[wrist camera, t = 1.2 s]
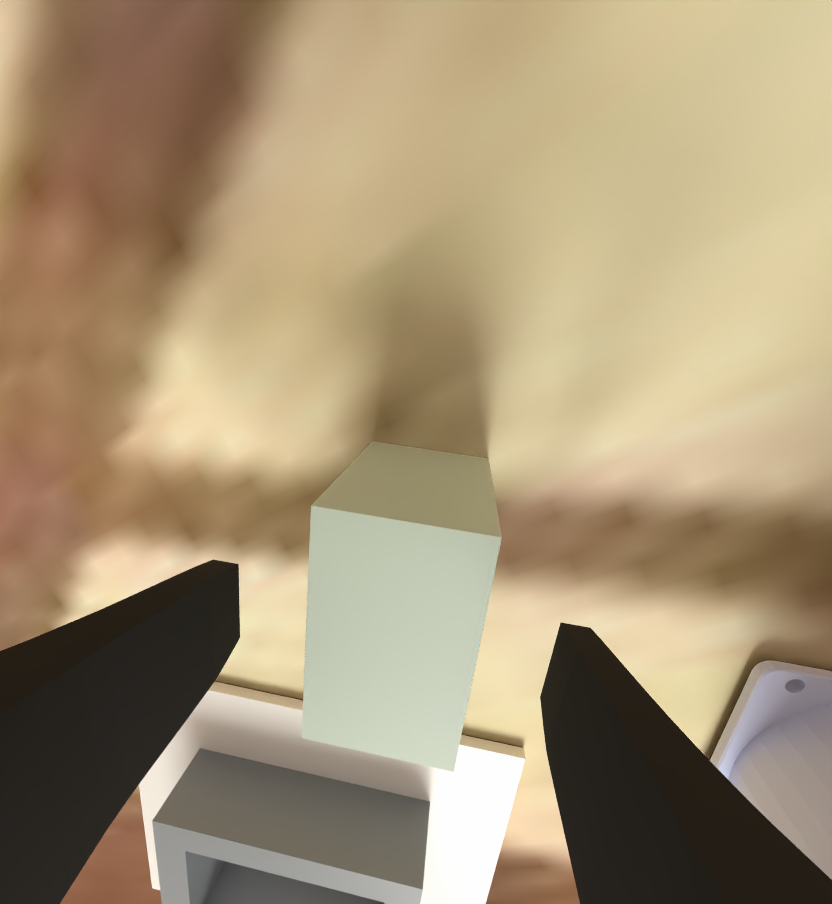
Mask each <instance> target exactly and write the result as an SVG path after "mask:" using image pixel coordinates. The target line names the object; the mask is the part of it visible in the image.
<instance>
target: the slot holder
mask: <svg viewBox="0 0 832 904" xmlns="http://www.w3.org/2000/svg"><path fill="white" fill-rule="evenodd" d="M302 714H303V700H298V699H293V698H289V697H284V696H280V695H275V694H270V693H266V692H261V691H256V690H252V689H247V688H242V687H238V686H233V685H228V684H224V683H219V682H214V683H213V684H212V686H211V687H210V689H209V690H208V691H207V693H206V694H205V696H204V697H203V698H202V700H201V701H200V702H199V704H198V705H197V707H196V708H195V709H194V711H193V712H192V713H191V715H190V716H189V717H188V719H187V720H186V722H185V723H184V724H183V726H182V727H181V728H180V730H179V731H178V732H177V734H176V735H175V736H174V738H173V739H172V740H171V742H170V743H169V744H168V746H167V747H166V748H165V750H164V751H163V753H162V754H161V755H160V757H159V758H158V759H157V761H156V762H155V763H154V765H153V766H152V767H151V769H150V770H149V771H148V773H147V774H146V775H145V777H144V778H143V779H142V781H141V782H140V784H139V789H140V796H141V804H142V812H143V820H144V827H145V835H146V843H147V850H148V858H149V866H150V874H151V881H152V888H153V889H157V890H160V891H161V900H162V904H486V900H487V896H488V893H489V889H490V885H491V882H492V878H493V875H494V871H495V867H496V864H497V860H498V856H499V853H500V849H501V846H502V842H503V838H504V835H505V831H506V827H507V824H508V820H509V816H510V813H511V809H512V806H513V802H514V798H515V795H516V791H517V787H518V784H519V780H520V776H521V773H522V769H523V766H524V762H525V753H524V748H521V747H516V746H512V745H507V744H502V743H498V742H493V741H489V740H484V739H479V738H475V737H470V736H465V735H461V739H460V744H459V749H458V754H457V759H456V764H455V769H454V772H451V771H447V770H442V769H438V768H433V767H429V766H425V765H420V764H416V763H411V762H407V761H402V760H398V759H393V758H389V757H384V756H380V755H375V754H371V753H366V752H362V751H357V750H353V749H348V748H344V747H340V746H335V745H331V744H326V743H322V742H317V741H313V740H308V739H304V738H302Z"/></svg>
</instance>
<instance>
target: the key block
mask: <svg viewBox="0 0 832 904" xmlns="http://www.w3.org/2000/svg"><path fill="white" fill-rule="evenodd" d="M501 538H502V537H501V531H500V525H499V519H498V513H497V507H496V501H495V495H494V489H493V483H492V477H491V471H490V465H489V459H488V458H483V457H476V456H469V455H463V454H456V453H449V452H443V451H436V450H429V449H423V448H416V447H409V446H403V445H396V444H389V443H383V442H376V441H372V442H371V443H370V444H369V445H368V446H367V447H366V448H365V449H364V450H363V451H362V452H361V453H360V455H359V456H358V457H357V458H356V459H355V460H354V461H353V462H352V463H351V464H350V465H349V466H348V467H347V468H346V469H345V470H344V471H343V473H342V474H341V475H340V476H339V477H338V478H337V479H336V480H335V481H334V482H333V483H332V484H331V485H330V486H329V487H328V488H327V489H326V491H325V492H324V493H323V494H322V495H321V496H320V497H319V498H318V499H317V500H316V501H315V502H314V503H313V504H312V505H311V523H310V547H309V571H308V595H307V619H306V643H305V667H304V690H303V714H302V738H304V739H308V740H313V741H317V742H322V743H326V744H331V745H335V746H340V747H344V748H348V749H353V750H357V751H362V752H366V753H371V754H375V755H380V756H384V757H389V758H393V759H398V760H402V761H407V762H411V763H416V764H420V765H425V766H429V767H433V768H438V769H442V770H447V771H451V772H454V769H455V764H456V759H457V754H458V749H459V744H460V739H461V734H462V730H463V725H464V720H465V715H466V710H467V705H468V700H469V695H470V690H471V685H472V680H473V676H474V671H475V666H476V661H477V656H478V651H479V646H480V641H481V636H482V631H483V626H484V622H485V617H486V612H487V607H488V602H489V597H490V592H491V587H492V582H493V577H494V572H495V568H496V563H497V558H498V553H499V548H500V543H501Z"/></svg>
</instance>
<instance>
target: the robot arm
mask: <svg viewBox="0 0 832 904" xmlns="http://www.w3.org/2000/svg"><path fill="white" fill-rule="evenodd" d="M239 638H240V618H239V569H238V564H234V563H229V562H223V561H218V560H211V561H209V562H206V563H203V564H201V565H199V566H196V567H194V568H192V569H189V570H187V571H185V572H183V573H180V574H178V575H176V576H174V577H172V578H169V579H167V580H165V581H163V582H161V583H159V584H156V585H154V586H152V587H150V588H148V589H145V590H143V591H141V592H139V593H137V594H134V595H132V596H130V597H128V598H126V599H123V600H121V601H119V602H117V603H115V604H112V605H110V606H108V607H106V608H104V609H101V610H99V611H97V612H94V613H92V614H90V615H87V616H85V617H82V618H80V619H78V620H75V621H73V622H71V623H68V624H66V625H63V626H61V627H59V628H56V629H54V630H52V631H49V632H47V633H45V634H42V635H40V636H37V637H35V638H33V639H30V640H28V641H25V642H23V643H20V644H18V645H15V646H12V647H10V648H7V649H5V650H2V651H0V904H60V902H61V901H62V899H63V898H64V896H65V895H66V893H67V891H68V890H69V888H70V887H71V885H72V884H73V882H74V880H75V879H76V877H77V876H78V874H79V873H80V871H81V869H82V868H83V866H84V865H85V863H86V862H87V860H88V858H89V857H90V855H91V854H92V852H93V851H94V849H95V847H96V846H97V844H98V843H99V841H100V840H101V838H102V836H103V835H104V833H105V832H106V830H107V829H108V827H109V826H110V824H111V823H112V821H113V820H114V819H115V817H116V816H117V814H118V813H119V811H120V810H121V808H122V807H123V806H124V804H125V803H126V801H127V800H128V798H129V797H130V796H131V794H132V793H133V792H134V790H135V789H136V788H137V786H138V785H139V784H140V782H141V781H142V779H143V778H144V777H145V775H146V774H147V773H148V771H149V770H150V769H151V767H152V766H153V765H154V763H155V762H156V761H157V759H158V758H159V757H160V755H161V754H162V753H163V751H164V750H165V748H166V747H167V746H168V744H169V743H170V742H171V740H172V739H173V738H174V736H175V735H176V734H177V732H178V731H179V730H180V728H181V727H182V726H183V724H184V723H185V722H186V720H187V719H188V717H189V716H190V715H191V713H192V712H193V711H194V709H195V708H196V707H197V705H198V704H199V702H200V701H201V700H202V698H203V697H204V696H205V694H206V693H207V691H208V690H209V689H210V687H211V686H212V684H213V683H214V682H215V680H216V678H217V677H218V675H219V673H220V672H221V670H222V668H223V666H224V665H225V663H226V661H227V660H228V658H229V656H230V654H231V653H232V651H233V649H234V647H235V645H236V644H237V642H238V640H239ZM540 698H541V708H542V717H543V727H544V735H545V743H546V751H547V756H548V761H549V766H550V770H551V775H552V779H553V784H554V788H555V793H556V798H557V802H558V807H559V811H560V816H561V820H562V824H563V829H564V833H565V838H566V842H567V847H568V851H569V856H570V860H571V865H572V869H573V873H574V878H575V882H576V887H577V891H578V896H579V900H580V904H832V671H828V670H823V669H817V668H812V667H807V666H801V665H796V664H790V663H785V662H779V661H769V660H767V661H763V662H760V663H758V664H757V665H755V667H754V668H753V669H752V671H751V673H750V676H749V678H748V680H747V682H746V684H745V686H744V688H743V690H742V693H741V695H740V697H739V699H738V701H737V703H736V705H735V708H734V710H733V712H732V714H731V716H730V718H729V720H728V723H727V725H726V727H725V729H724V731H723V733H722V735H721V738H720V740H719V742H718V744H717V746H716V748H715V750H714V753H713V755H712V757H711V759H710V760H709V759H708V758H707V757H706V756H705V755H704V754H703V753H702V752H701V751H700V750H699V749H698V748H697V747H696V746H695V745H694V744H693V743H692V741H691V740H690V739H689V738H688V737H687V736H686V735H685V734H684V733H683V732H682V731H681V730H680V729H679V727H678V726H677V725H676V724H675V723H674V722H673V721H672V720H671V719H670V718H669V716H668V715H667V714H666V713H665V712H664V711H663V710H662V709H661V708H660V706H659V705H658V704H657V703H656V702H655V701H654V700H653V699H652V697H651V696H650V695H649V694H648V693H647V692H646V691H645V690H644V688H643V687H642V686H641V685H640V684H639V683H638V682H637V680H636V679H635V678H634V677H633V676H632V675H631V673H630V672H629V671H628V670H627V669H626V668H625V667H624V665H623V664H622V663H621V662H620V661H619V660H618V658H617V657H616V656H615V655H614V654H613V653H612V652H611V650H610V649H609V648H608V647H607V646H606V645H605V644H604V642H603V641H602V640H601V639H600V638H599V637H598V636H597V635H596V633H595V632H594V631H593V630H592V629H591V628H588V627H582V626H577V625H571V624H566V623H561V624H560V627H559V631H558V635H557V638H556V642H555V645H554V649H553V653H552V656H551V660H550V664H549V667H548V671H547V675H546V678H545V682H544V686H543V689H542V693H541V696H540Z"/></svg>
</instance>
